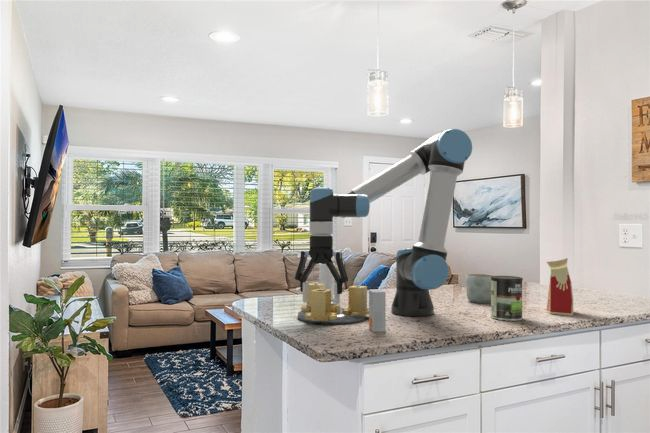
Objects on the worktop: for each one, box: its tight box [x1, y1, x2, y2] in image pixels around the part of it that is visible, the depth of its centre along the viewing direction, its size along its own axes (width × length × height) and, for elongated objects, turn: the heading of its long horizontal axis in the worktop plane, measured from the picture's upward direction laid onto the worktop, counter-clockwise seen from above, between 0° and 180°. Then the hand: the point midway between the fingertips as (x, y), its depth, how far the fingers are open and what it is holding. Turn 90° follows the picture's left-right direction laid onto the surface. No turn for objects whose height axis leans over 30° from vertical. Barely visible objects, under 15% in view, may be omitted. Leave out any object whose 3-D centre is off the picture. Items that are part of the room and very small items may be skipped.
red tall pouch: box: [545, 257, 574, 316], centre depth 188 cm, size 9×9×20 cm
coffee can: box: [490, 275, 524, 322], centre depth 177 cm, size 10×10×14 cm
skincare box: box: [368, 288, 387, 333], centre depth 158 cm, size 6×4×12 cm
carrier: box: [297, 282, 369, 326], centre depth 177 cm, size 27×23×11 cm
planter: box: [465, 273, 497, 304], centre depth 213 cm, size 12×12×11 cm
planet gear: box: [305, 289, 337, 321], centre depth 169 cm, size 11×11×9 cm
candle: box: [318, 262, 336, 301], centre depth 219 cm, size 7×7×15 cm
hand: (321, 303), depth 169 cm, fingers open, 10 cm apart
